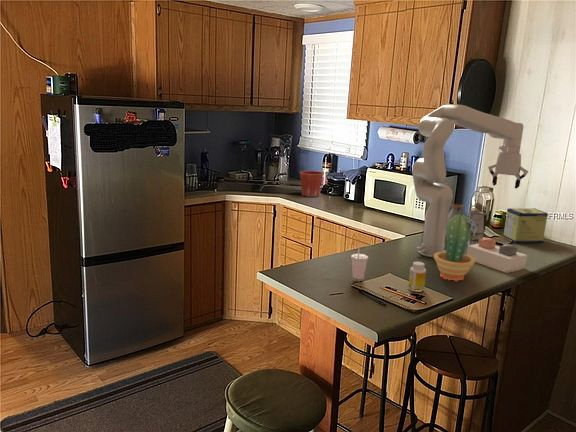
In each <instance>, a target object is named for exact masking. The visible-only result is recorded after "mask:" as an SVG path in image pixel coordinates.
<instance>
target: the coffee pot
mask: <svg viewBox="0 0 576 432" xmlns="http://www.w3.org/2000/svg"><path fill="white" fill-rule="evenodd" d="M450 207H451V209H450V210H449V213H448V221H447V223H448V222H449V220H450V219H451V218H452V217H453V216H454V215H458V214H459V215H460V216H462V215H464V212H463V208H464V205H463V204H459V203H451V205H450Z"/></svg>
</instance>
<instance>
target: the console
mask: <svg viewBox="0 0 576 432" xmlns="http://www.w3.org/2000/svg"><path fill="white" fill-rule="evenodd" d="M500 246H501V245H497V244H496V245H495V248H493V249H489V250H488V249H485V248H482V247H479V244H474V245H469V246H468V245H467V251H466V255H469V256H471V257H473V258H474V260H475V263H477V264H481V265H483V266H485V267H489V268H491V269H494V270H497V271H500V272H503V273H506V274H510V272H511V273H514V272H517V271H522V270H524V269H526V265H527V259H528V255H527V254H525V253H522V252H518V251H517V253H516V255H513V256H507V255H504V254H500V253H499V248H500ZM521 269H522V270H521Z"/></svg>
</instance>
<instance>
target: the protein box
mask: <svg viewBox="0 0 576 432" xmlns="http://www.w3.org/2000/svg"><path fill="white" fill-rule="evenodd" d="M548 215H549V214H548V212H545V211H543V210H540V209H537V208H533V207H531V208H525V207H524V208H517V207H512V208H507V210H506V217H505V224H504V230H503V237H506V238H508V239H510V240H512V241H513V242H512V243H513V244H543V243H544V239H545V233H546V232H545V231H546V227H547V219H548Z"/></svg>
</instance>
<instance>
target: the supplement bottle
mask: <svg viewBox="0 0 576 432" xmlns="http://www.w3.org/2000/svg"><path fill="white" fill-rule="evenodd" d="M426 275H427V269H426V268H425V263H424V262H422V261H413V263H412V266H411V267H410V268H409V276H408V288H409V287H410V288H411V289H414V290H424V291H425V286H426V285H425V284H426V278H427V277H426Z"/></svg>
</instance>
